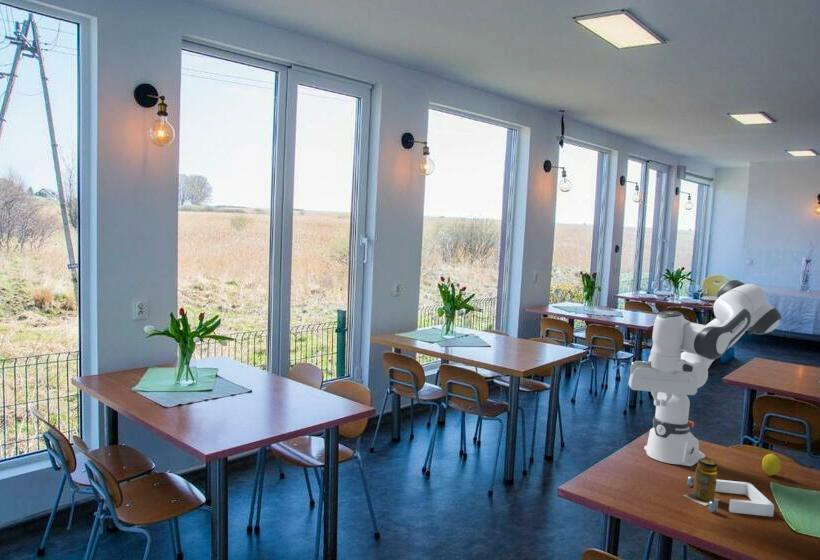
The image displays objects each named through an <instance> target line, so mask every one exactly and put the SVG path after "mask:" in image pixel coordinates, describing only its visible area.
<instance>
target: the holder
mask: <svg viewBox="0 0 820 560" xmlns="http://www.w3.org/2000/svg"><path fill="white" fill-rule="evenodd" d="M716 492H717V493H724V494H725V493H727V494H735V495H745V496H747V497H748V498H749V500H745V499H736V498H729V501H728V502H729V504H728V511H729V513H734V514H744V515H751V516H752V515H754V516H762V517H772V518H773V517H774V514H775V505H774V503H773V502H771V500H770V499H768V498H767V497H766V496H765V495H764V494H763V493H762V492H760V491H759V489H757V488H756V487H755V485H754V484H752V483H751V482H748V481H747V482H746V481H736V480H735V481H734V480H728V479H727V480H725V479H717V480H716V489H715V493H716Z"/></svg>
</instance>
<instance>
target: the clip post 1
mask: <svg viewBox="0 0 820 560" xmlns="http://www.w3.org/2000/svg"><path fill="white" fill-rule="evenodd" d="M694 480H695V475H694V476H693V475H688V476H687V482H686V483H687V484H686V485H687V487H689V488H692V489H694Z"/></svg>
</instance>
